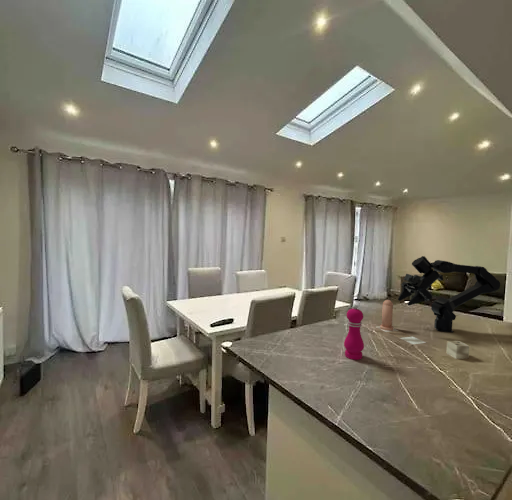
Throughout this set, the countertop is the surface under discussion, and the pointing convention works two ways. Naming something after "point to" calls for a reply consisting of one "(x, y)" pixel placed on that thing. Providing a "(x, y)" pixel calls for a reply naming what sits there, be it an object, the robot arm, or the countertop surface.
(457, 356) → the die
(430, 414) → the countertop surface
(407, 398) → the countertop surface
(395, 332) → the board
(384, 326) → the tan knob handle
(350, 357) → the pepper mill
